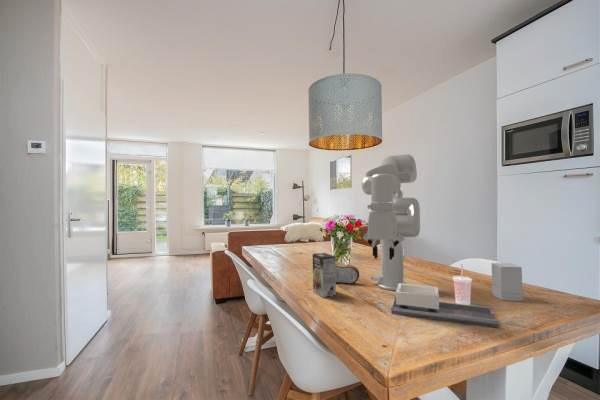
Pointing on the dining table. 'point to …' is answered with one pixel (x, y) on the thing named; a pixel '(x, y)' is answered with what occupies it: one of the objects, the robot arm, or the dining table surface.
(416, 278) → the dining table surface
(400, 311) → the track
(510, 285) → the supplement box
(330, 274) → the coffee box
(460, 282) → the beverage cup
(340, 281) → the tin
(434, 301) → the cart
